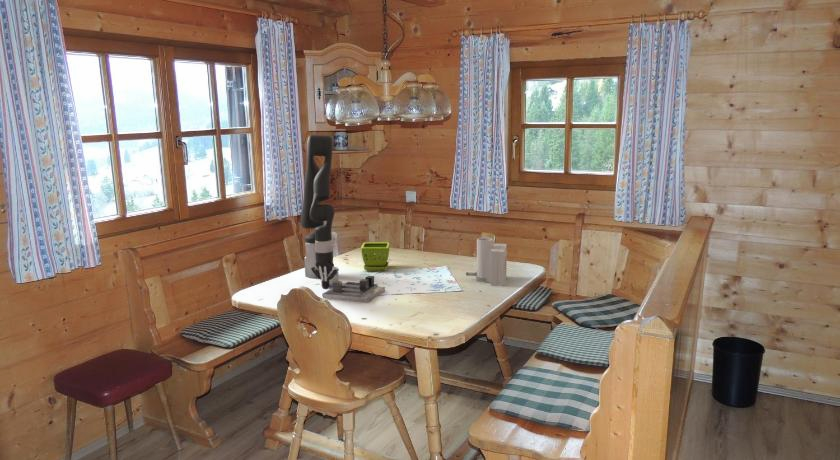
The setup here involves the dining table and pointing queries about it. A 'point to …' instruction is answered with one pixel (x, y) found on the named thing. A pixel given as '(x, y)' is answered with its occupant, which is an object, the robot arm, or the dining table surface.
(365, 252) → the flower pot
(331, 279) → the medicine box
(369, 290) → the grey peg board
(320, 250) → the robot arm
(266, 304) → the dining table surface
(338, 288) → the breaker
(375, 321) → the dining table surface
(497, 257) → the light grey tall pieces
